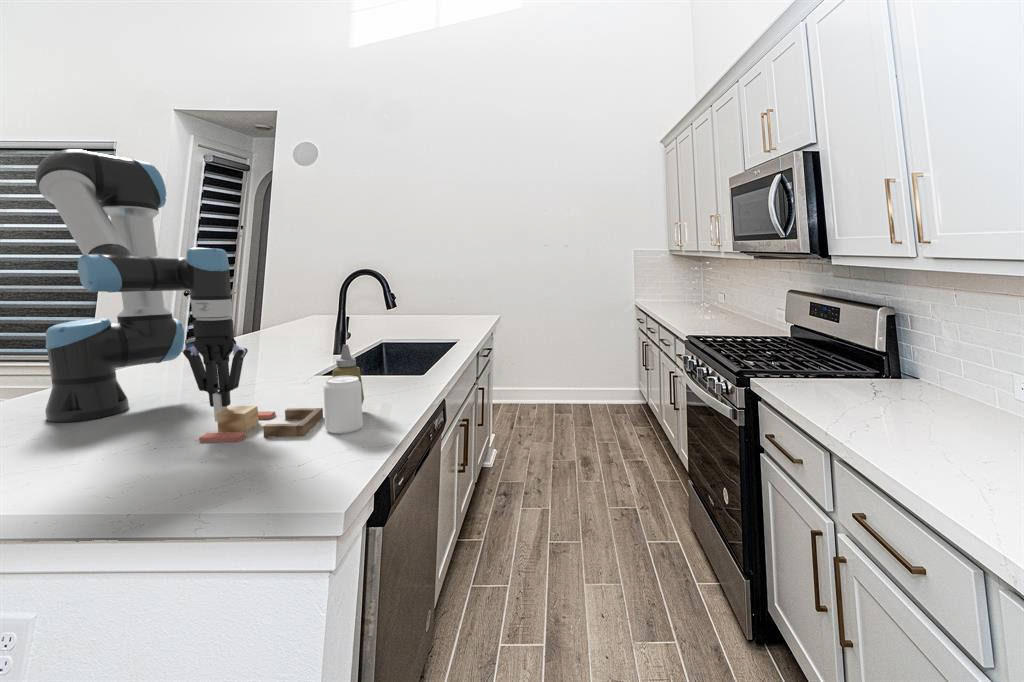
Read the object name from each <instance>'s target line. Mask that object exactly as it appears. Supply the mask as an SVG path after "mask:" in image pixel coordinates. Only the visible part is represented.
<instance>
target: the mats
mask: <svg viewBox="0 0 1024 682" xmlns="http://www.w3.org/2000/svg"><path fill="white" fill-rule="evenodd" d="M275 416H276V411H275V410H274V411H273V410H272V411H271V410H270V411H268V410H267V411H264V410H262V411H258V420H271V419H272V418H274V417H275ZM246 433H247V432H219V433H218V432H206V433H204V434H203V435H201V436H199V437H198V442H199V443H227V442H228V443H229V442H230V443H232V442H233V443H235V442H236V443H237V442H238V443H239V442H240V441H242V440H243V439H245V438H246V437H247V434H246Z"/></svg>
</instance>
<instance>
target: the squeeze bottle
mask: <svg viewBox="0 0 1024 682" xmlns="http://www.w3.org/2000/svg"><path fill="white" fill-rule="evenodd" d="M335 361H336V362H335V363H336V367H334V368H333V369H332V376H331V377H335V376H356V377H358V378H359V381H360V382H361V396H362V405H363V404H364V400H365V396H364V389H363V381H362V376H361V375H362V374H361V368H360V367H358V366H357V362H356V361H357V360H356V358H355V357H352V355H351V351H350V347H349V345H348V344H342V349H341V354H340V357H338V358H337V359H336V360H335Z"/></svg>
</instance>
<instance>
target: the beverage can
mask: <svg viewBox="0 0 1024 682" xmlns="http://www.w3.org/2000/svg"><path fill="white" fill-rule="evenodd" d="M323 406H324V408H323V409H324V424H325V425H324V426H325V430H326V431H327V432H329V433H332V434H337V435H341V434H343V435H345V434H350V433H353V432H356V431H358V430H359V429H361V428H362V427H363V404H362V396H361V382H360V381H359V378H358V377H356V376H335V377H332V376H331V377H328V378H326V379H325V382H324V384H323Z"/></svg>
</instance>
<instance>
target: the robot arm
mask: <svg viewBox="0 0 1024 682" xmlns="http://www.w3.org/2000/svg"><path fill="white" fill-rule="evenodd" d="M34 180H35V184H36V187H37V189H38V191H39V192H40V194H41V195H42V197H43V198H44V199H45V200H46V201H48V202H49V203H51V204H53V205H54V207H55V208H56V210H57V212H58V214H59V215H60V217H61V219H62V221H63V223H64V224H65V226H66V228H67V229H68V231H69V233H70V235H71V236H72V238H73V240H74V242H75V244H76V245H77V247H78V249H79V251H80V252H81V254H82V255H81V256H80V257H79V259H78V261H77V275H78V277H79V281H80V283H81V284H80V285H82V287H83V288H84V289H85V290H87V291H89V292H101V293H103V292H105V293H106V292H107V293H121V302H122V306H123V308H122V310H121V311H120V312H119V313H118V314H117V316H116V319H117V322H112V321H111V320H110V319H109V318H106V317H100V318H97V317H95V318H87V319H79V320H78V319H77V320H71V321H66V322H62V323H57V324H55V325H52V326H50V327H48V329H47V330H46V331H45V349H46V350H47V357H48V364H49V372H50V378H51V385H52V386H51V391H50V394H49V396H48V400H47V403H46V408H45V411H44V412H45V417H46V420H47V421H49V422H51V423H52V422H55V423H70V422H71V423H73V422H81V421H88V420H89V421H91V420H96V419H100V418H105V417H109V416H114V415H116V414H119V413H122V412H124V411H126V410H128V409H129V408H130V405H129V399H128V396H127V395H126V394H125V391H124V390H123V388H122V387H121V384H120V383H119V381H118V379H117V373H116V369H118V368H126V367H133V366H141V365H148V364H160V363H163V362H169V361H173V360H174V361H175V359H177V358H178V357H180V355H181V353H183V355H184V357H186V359H187V360H188V362H189V363H188V364H189V365H190V368H191V370H192V374H193V377H194V380H195V382H196V384H197V385H196V386H197V389H198V390H199V391H201V392H203V391H204V392H207V394H208V398H209V406H210V407H211V408H212V407H213V416H214V423H215V422H217V414H218V413H219V412H221V411H223V410H225V409H227V408H228V407H229V406H231V391H233V390H235V389H238V388H239V385H240V381H241V380H240V379H241V375H242V370H243V363H244V360H245V359H244V358H245V357H246V355H247V354H248V351H249V349H248V348H246V347H243V348H242V347H241V346H239V345H237V341H236V340H235V338H234V335H235V328H234V320H233V319H232V318H231V317H232V316H234V314H233V306H232V305H233V302H232V295H231V293H232V292H231V276H230V268H231V266H230V264H229V259H228V258H229V257H228V253H227V251H226V250H225V249H222V248H213V247H212V248H210V247H191V248H187V251H186V257H185V256H184V257H180V256H178V257H177V256H174V257H173V256H159V255H158V249H157V242H156V235H155V226H154V218H155V217H156V216H158V215H160V211H159V209H160V208H163V207H164V206H166V201H167V198H166V197H167V188H166V184H165V181H164V179H163V176H162V174H161V173H160V171H159V170H158V169H157V168H156V167H155V166H154V165H153V164H152V163H150V162H146V161H141V160H137V159H135V158H133V157H132V158H129V157H124V156H123V157H121V156H116V155H111V154H106V153H105V154H104V153H98V152H92V151H87V150H84V149H73V148H72V149H71V148H70V149H62V150H57V151H55V152H53V153H50V154H49V155H47V156H46V157H44V158H43V159H42V160H41V162H39V164H38V165H37V167H36V170H35V176H34ZM164 291H165V292H167V291H168V292H175V291H177V292H178V291H180V292H181V291H189V295H190V301H191V302H190V305H191V313H192V317H193V318H195V319H194V320H192V327H193V334H194V338H195V339H194V341H193V346H191V347H189V348H188V349H187V348H186V349H184V346H185V329H184V327H183V324H182V321H180V320H179V319H176V318H173V312H172V311H170V310H168V309H167V308H166V307H165V302H164V301H165V300H164V293H163V292H164ZM183 349H184V350H183ZM231 354H232V356H233V357H232V362H231V367H230V365H229V362H230V356H231ZM200 355H201V356H200ZM201 357H202V358H201ZM202 360H203V361H202Z"/></svg>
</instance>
